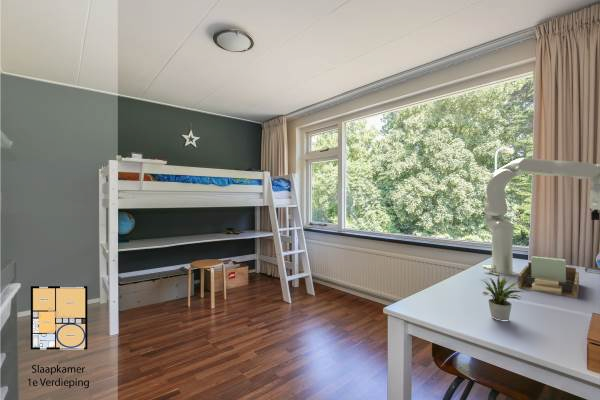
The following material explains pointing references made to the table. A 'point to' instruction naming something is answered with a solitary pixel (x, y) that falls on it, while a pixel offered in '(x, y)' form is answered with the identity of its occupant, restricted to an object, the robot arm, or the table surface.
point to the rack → (567, 288)
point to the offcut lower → (547, 289)
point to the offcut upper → (547, 282)
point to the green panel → (548, 268)
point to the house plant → (500, 299)
